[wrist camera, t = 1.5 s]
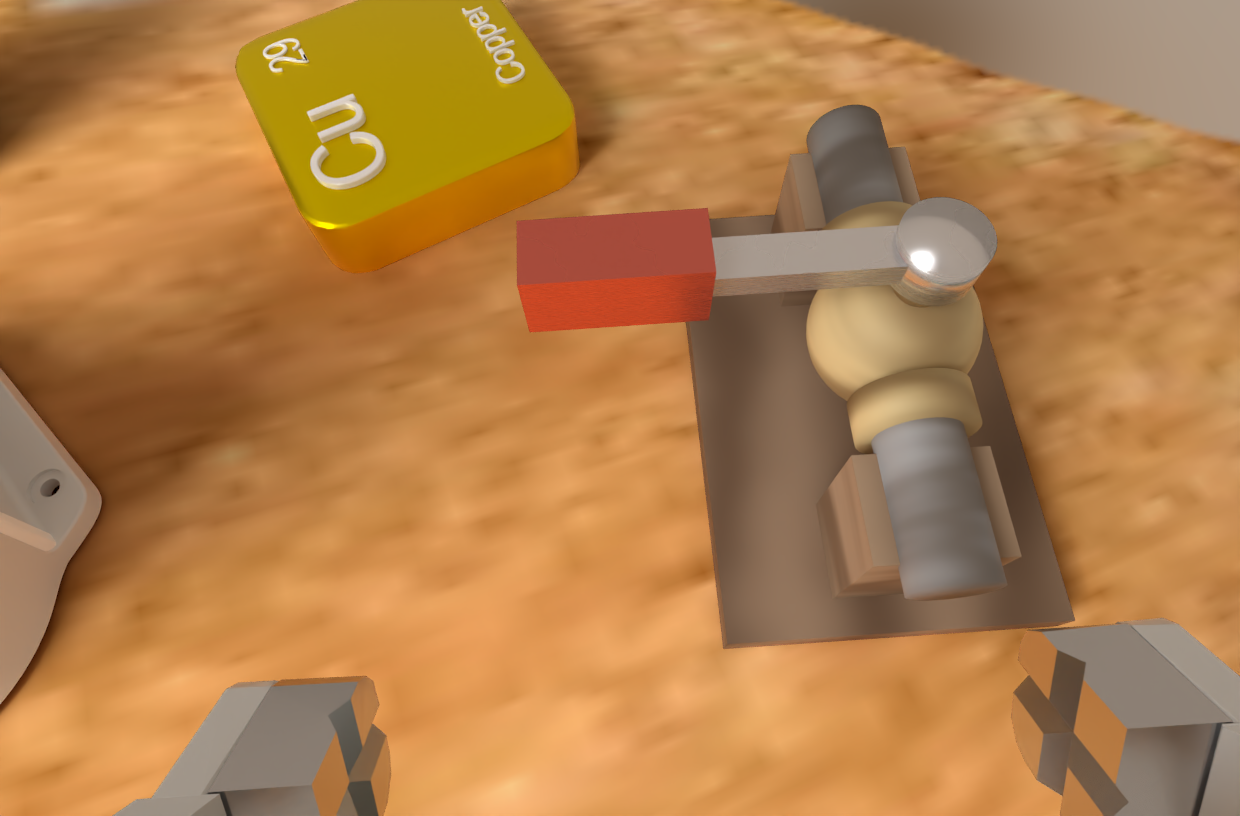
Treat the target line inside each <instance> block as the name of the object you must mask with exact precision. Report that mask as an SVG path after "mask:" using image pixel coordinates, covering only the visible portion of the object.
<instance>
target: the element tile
mask: <svg viewBox="0 0 1240 816" xmlns="http://www.w3.org/2000/svg"><path fill="white" fill-rule="evenodd" d="M235 68H236V73H237V77H238V79H239V81H240V84H241V86H242V88H243V90H244V92H245V95H246V97H247V99H248V101H249V103H250V105H251V108H252V110H253V112H254V114H255V116H256V119H257V121H258V123H259V125H260V127H261V130H262V132H263V134H264V136H265V138H266V140H267V143H268V145H269V147H270V149H271V151H272V154H273V156H274V158H275V160H276V162H277V164H278V167H279V169H280V171H281V173H282V175H283V178H284V180H285V182H286V184H287V186H288V189H289V191H290V193H291V195H292V197H293V199H294V202H295V204H296V206H297V208H298V210H299V212H300V214H301V216H302V217H303V219H304V220H305V222H306V223H307V225H308V227H309V228H310V230H311V231H312V233H313V234H314V236H315V238H316V239H317V241H318V242H319V244H320V245H321V247H322V249H323V250H324V252H325V253H326V255H327V256H328V258H329V259H330V260H331V262H332V263H333V264H334V265H336V266H337V267H338V268H340V269H341V270H343V271H347V272H351V273H364V272H371V271H375V270H378V269H380V268H383V267H385V266H387V265H389V264H392V263H394V262H396V261H398V260H401V259H403V258H405V257H407V256H410V255H412V254H414V253H416V252H419V251H421V250H423V249H426V248H428V247H430V246H432V245H435V244H437V243H439V242H441V241H444V240H446V239H448V238H450V237H453V236H455V235H457V234H460V233H462V232H464V231H466V230H469V229H471V228H473V227H475V226H478V225H480V224H482V223H484V222H487V221H489V220H491V219H494V218H496V217H498V216H500V215H503V214H505V213H507V212H509V211H512V210H514V209H516V208H518V207H521V206H523V205H525V204H528V203H530V202H532V201H534V200H537V199H539V198H541V197H543V196H546V195H548V194H550V193H552V192H555V191H557V190H559V189H561V188H562V187H564V186H566V185H567V184H568V183H569V182H570V181H571V180H572V179H573V178H574V177H575V176H576V175H577V172H578V170H579V167H580V160H579V150H578V140H577V131H576V121H575V112H574V106H573V104H572V102H571V100H570V98H569V96H568V95H567V93H566V92H565V90H564V89H563V87H562V86H561V85H560V83H559V82H558V80H557V79H556V78H555V76H554V75H553V73H552V72H551V70H550V69H549V68H548V66H547V65H546V63H545V62H544V61H543V59H542V58H541V56H540V55H539V53H538V52H537V51H536V49H535V48H534V46H533V45H532V44H531V42H530V41H529V39H528V38H527V36H526V35H525V34H524V32H523V31H522V29H521V28H520V27H519V25H518V24H517V22H516V21H515V19H514V18H513V17H512V15H511V14H510V12H509V11H508V10H507V8H506V7H505V5H504V4H503V2H502V1H501V0H357V1H355V2H352V3H349V4H347V5H344V6H341V7H338V8H336V9H333V10H330V11H328V12H325V13H322V14H320V15H317V16H314V17H312V18H309V19H306V20H304V21H301V22H298V23H296V24H293V25H290V26H288V27H285V28H282V29H280V30H277V31H274V32H271V33H269V34H266V35H263V36H261V37H259V38H257V39H255V40H253V41H252V42H250V43H248V44H246V45H245V46H244V47H242V48H241V50H240V52H239V55H238V56H237V59H236V65H235Z"/></svg>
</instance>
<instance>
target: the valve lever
mask: <svg viewBox="0 0 1240 816" xmlns="http://www.w3.org/2000/svg"><path fill="white" fill-rule="evenodd" d="M996 248H997V236H996V232H995V229H994V227H993V225H992V224H991V222H990V221H989V219H988V218H987V217H986V216H985V215H984V214H983V213H982V212H981V211H980V210H978V209H977V208H975V207H974V206H972V205H970V204H968V203H966V202H964V201H961V200H957V199H953V198H947V197H935V198H929V199H925V200H922V201H919V202H918V203H916V204H914V205H913V206H911V207H910V208H909V209H908V210H907V211H906V212H905V214H904V215H903V217H902V219H901V221H900V223H899V225H895V226H880V227H865V228H850V229H836V230H821V231H806V232H791V233H776V234H761V235H746V236H731V237H717V238H712V236H711V229H710V222H709V214H708V208H702V209H687V210H672V211H657V212H642V213H627V214H612V215H598V216H583V217H568V218H553V219H538V220H523V221H517V286H518V290H519V294H520V298H521V301H522V305H523V309H524V313H525V316H526V320H527V324H528V328H529V331H530V332H541V331H556V330H571V329H585V328H600V327H615V326H630V325H645V324H660V323H674V322H689V321H704V320H709V316H710V310H711V303H712V297H717V296H731V295H746V294H761V293H776V292H791V291H806V290H820V289H835V288H850V287H865V286H880V285H891V286H892V287H893V289H894V290H895V291H896V292H898V293H899V294H900V295H901V296H903V297H904V298H906V299H908V300H910V301H912V302H914V303H917V304H920V305H925V306H945V305H949V304H952V303H955V302H957V301H958V300H960V299H961V298H963V297H964V296H965V295H966V294H967V293H968V292H969V290H970V289H971V287H972V286H973V285H974V283H975V282H976V280H977V279H978V278H979V276H980V275H981V273H982V272H983V271H984V269H985V268H986V266H987V265H988V264H989V262H990V261H991V259H992V258H993V256H994V254H995V252H996Z"/></svg>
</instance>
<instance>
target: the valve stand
mask: <svg viewBox="0 0 1240 816" xmlns="http://www.w3.org/2000/svg"><path fill="white" fill-rule="evenodd" d="M807 147H808V152H809V153H804V154H790V158H789V162H788V166H787V170H786V174H785V178H784V182H783V186H782V190H781V194H780V198H779V202H778V206H777V210H776V214H775V215H765V216H750V217H735V218H720V219H709V222H710V229H711V236H712V238H717V237H731V236H746V235H761V234H776V233H791V232H806V231H821V230H836V229H850V228H865V227H880V226H895V225H899V223H900V221H901V219H902V217H903V215H904V214H905V212H906V211H907V210H908V209H909V208H910V207H911V206H913V205H914V204H916V203H918V202H919V201H920V198H919V194H918V191H917V187H916V184H915V180H914V177H913V173H912V170H911V166H910V163H909V159H908V156H907V152H906V149H905V147H894V148H888V144H887V141H886V137H885V133H884V130H883V126H882V122H881V119H880V116H879V114H878V113H877V112H876V111H875V110H874V109H872V108H870V107H867V106H863V105H848V106H843V107H840V108H837V109H834V110H832V111H830V112H828V113H826V114H825V115H823V116H822V117H820V118H819V119H818V120H817V121H816V122H815V123H814V124H813V125H812V127H811V128H810V130H809V132H808V135H807ZM686 326H687V335H688V344H689V353H690V361H691V370H692V379H693V387H694V396H695V405H696V414H697V422H698V431H699V440H700V448H701V457H702V466H703V475H704V483H705V492H706V501H707V509H708V518H709V527H710V536H711V544H712V553H713V562H714V570H715V579H716V588H717V597H718V605H719V614H720V623H721V631H722V640H723V649H729V648H744V647H758V646H773V645H787V644H802V643H816V642H831V641H845V640H860V639H875V638H889V637H904V636H918V635H933V634H947V633H962V632H976V631H991V630H1005V629H1020V628H1034V627H1049V626H1058V625H1061V624H1065V623H1068V622H1072V621H1075V618H1074V615H1073V612H1072V608H1071V605H1070V602H1069V598H1068V595H1067V592H1066V589H1065V585H1064V582H1063V579H1062V575H1061V572H1060V569H1059V565H1058V562H1057V559H1056V556H1055V552H1054V549H1053V546H1052V542H1051V539H1050V536H1049V533H1048V529H1047V526H1046V523H1045V519H1044V516H1043V513H1042V509H1041V506H1040V503H1039V500H1038V496H1037V493H1036V490H1035V486H1034V483H1033V480H1032V477H1031V473H1030V470H1029V467H1028V463H1027V460H1026V457H1025V454H1024V450H1023V447H1022V444H1021V440H1020V437H1019V434H1018V430H1017V427H1016V424H1015V421H1014V417H1013V414H1012V411H1011V407H1010V404H1009V401H1008V398H1007V394H1006V391H1005V388H1004V384H1003V381H1002V378H1001V374H1000V371H999V368H998V365H997V361H996V358H995V355H994V351H993V348H992V345H991V342H990V338H989V335H988V332H987V328H986V325H985V322H984V318H983V315H982V310H981V306H980V302H979V299H978V297H977V294H976V292H975V289H974V286H972V287H971V289H970V290H969V292H968V293H967V294H966V295H965V296H964V297H963V298H961V299H960V300H958V301H957V302H955V303H952V304H949V305H945V306H925V305H920V304H917V303H914V302H912V301H910V300H908V299H906V298H904V297H903V296H901V295H900V294H899V293H898V292H896V291H895V290H894V289H893V287H892V286H891V285H880V286H865V287H850V288H835V289H820V290H806V291H791V292H776V293H761V294H746V295H731V296H717V297H712V303H711V310H710V316H709V320H704V321H689V322H686Z"/></svg>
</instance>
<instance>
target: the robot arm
mask: <svg viewBox="0 0 1240 816" xmlns="http://www.w3.org/2000/svg"><path fill="white" fill-rule="evenodd" d="M58 485H60V488H59V490H58V491H57V493H56V494H54V495H53V496H52V492H53V490H54V489H55V488H56V487H57V486H58ZM101 504H102V499H101V495H100V493H99V491H98V489H97V488H96V486H95V485H94V484H93V483H92V481H91V480H90V479H89V478H88V476H87V475H86V474H85V473H84V471H83V470H82V469H81V468H80V466H79V465H78V464H77V463H76V461H75V460H74V459H73V458H72V456H71V455H70V454H69V453H68V451H67V450H66V449H65V448H64V446H63V445H62V444H61V443H60V442H59V440H58V439H57V438H56V437H55V435H54V434H53V433H52V432H51V430H50V429H49V428H48V427H47V425H46V424H45V423H44V422H43V420H42V419H41V418H40V417H39V415H38V414H37V413H36V412H35V410H34V409H33V408H32V407H31V405H30V404H29V403H28V402H27V400H26V399H25V398H24V397H23V395H22V394H21V393H20V392H19V390H18V389H17V388H16V387H15V385H14V384H13V383H12V382H11V380H10V379H9V378H8V377H7V375H6V374H5V373H4V372H3V370H2V369H1V368H0V704H1V703H2V701H3V700H4V699H5V698H6V696H7V695H8V694H9V693H10V691H11V690H12V689H13V687H14V686H15V685H16V683H17V682H18V680H19V679H20V677H21V676H22V674H23V673H24V671H25V670H26V668H27V666H28V665H29V663H30V661H31V660H32V658H33V656H34V654H35V652H36V650H37V648H38V646H39V644H40V642H41V640H42V638H43V636H44V633H45V631H46V628H47V626H48V623H49V620H50V617H51V614H52V611H53V608H54V604H55V600H56V597H57V593H58V589H59V586H60V582H61V579H62V576H63V573H64V571H65V568H66V566H67V564H68V562H69V560H70V559H71V558H72V556H73V555H74V553H75V552H76V551H77V549H78V548H79V546H80V545H81V543H82V542H83V540H84V539H85V538H86V536H87V534H88V533H89V531H90V530H91V528H92V526H93V525H94V523H95V521H96V519H97V517H98V515H99V512H100V509H101ZM1018 661H1019V662H1020V664H1021V665H1022V666H1023V668H1024V669H1025V670H1026V671H1027V673H1028V674H1029V676H1028V677H1027V678H1026V679H1025V680H1024V681H1023V682H1022V683H1021V684H1020V686H1019V687H1018V688H1017V689H1016V690H1015V691H1014V692H1013V702H1012V713H1011V718H1012V723H1013V728H1014V733H1015V739H1016V743H1017V745H1018V747H1019V749H1020V752H1021V754H1022V756H1023V759H1024V761H1025V763H1026V764H1027V766H1028V767H1029V769H1030V770H1031V772H1032V773H1033V775H1034V777H1035V778H1036V780H1038V781H1039V782H1041V783H1042V784H1044V785H1046V786H1047V787H1049V788H1050V789H1052V790H1054V791H1055V792H1057V793H1058V794H1060V795H1062V803H1061V810H1060V816H1240V676H1239V675H1238V674H1236V673H1235V672H1234V671H1233V670H1232V669H1231V668H1229V667H1228V666H1227V665H1226V664H1225V663H1223V662H1222V661H1221V660H1220V659H1219V658H1218V657H1216V656H1215V655H1214V654H1213V653H1212V652H1211V651H1209V650H1208V649H1207V648H1206V647H1205V646H1203V645H1202V644H1201V643H1200V642H1199V641H1198V640H1196V639H1195V638H1194V637H1193V636H1192V635H1191V634H1189V633H1188V632H1187V631H1186V630H1185V629H1183V628H1182V627H1181V626H1180V625H1179V624H1177V623H1175V622H1172V621H1170V620H1167V619H1164V618H1156V619H1145V620H1135V621H1124V622H1117V623H1116V624H1104V625H1091V626H1077V627H1064V628H1051V629H1037V630H1027V632H1026V634H1025V635H1024V637H1023V639H1022V640H1021V643H1020V649H1019V656H1018ZM378 707H379V701H378V697H377V693H376V690H375V686H374V682H373V681H372V680H371V679H370V678H368V677H367V676H351V677H329V678H308V679H286V680H280V681H257V682H240V683H236V684H235V685H233V686H231V687H229V688H227V689H226V690H225V691H224V693H223V694H222V696H221V697H220V699H219V700H218V701H217V703H216V704H215V706H214V707H213V709H212V710H211V712H210V713H209V715H208V716H207V717H206V719H205V720H204V722H203V723H202V725H201V726H200V728H199V729H198V731H197V732H196V734H195V735H194V736H193V738H192V739H191V741H190V742H189V744H188V745H187V747H186V748H185V750H184V751H183V753H182V754H181V755H180V757H179V758H178V760H177V761H176V763H175V764H174V766H173V767H172V769H171V770H170V771H169V773H168V774H167V776H166V777H165V779H164V780H163V782H162V783H161V785H160V786H159V788H158V789H157V790H156V792H155V793H154V795H153V796H152V798H149V799H137V800H135V801H133V802H132V803H130V804H129V805H128V806H126V807H125V808H123V809H122V810H120V811H119V812H117V813H116V814H114V815H113V816H384V812H385V809H386V806H387V802H388V795H389V787H390V779H391V764H390V751H389V746H388V741H387V736H386V735H385V734H384V733H383V732H382V731H380V730H379V729H378V728H377V727H376V726H375V725H374V724H372V723H373V720H374V717H375V715H376V712H377V709H378Z"/></svg>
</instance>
